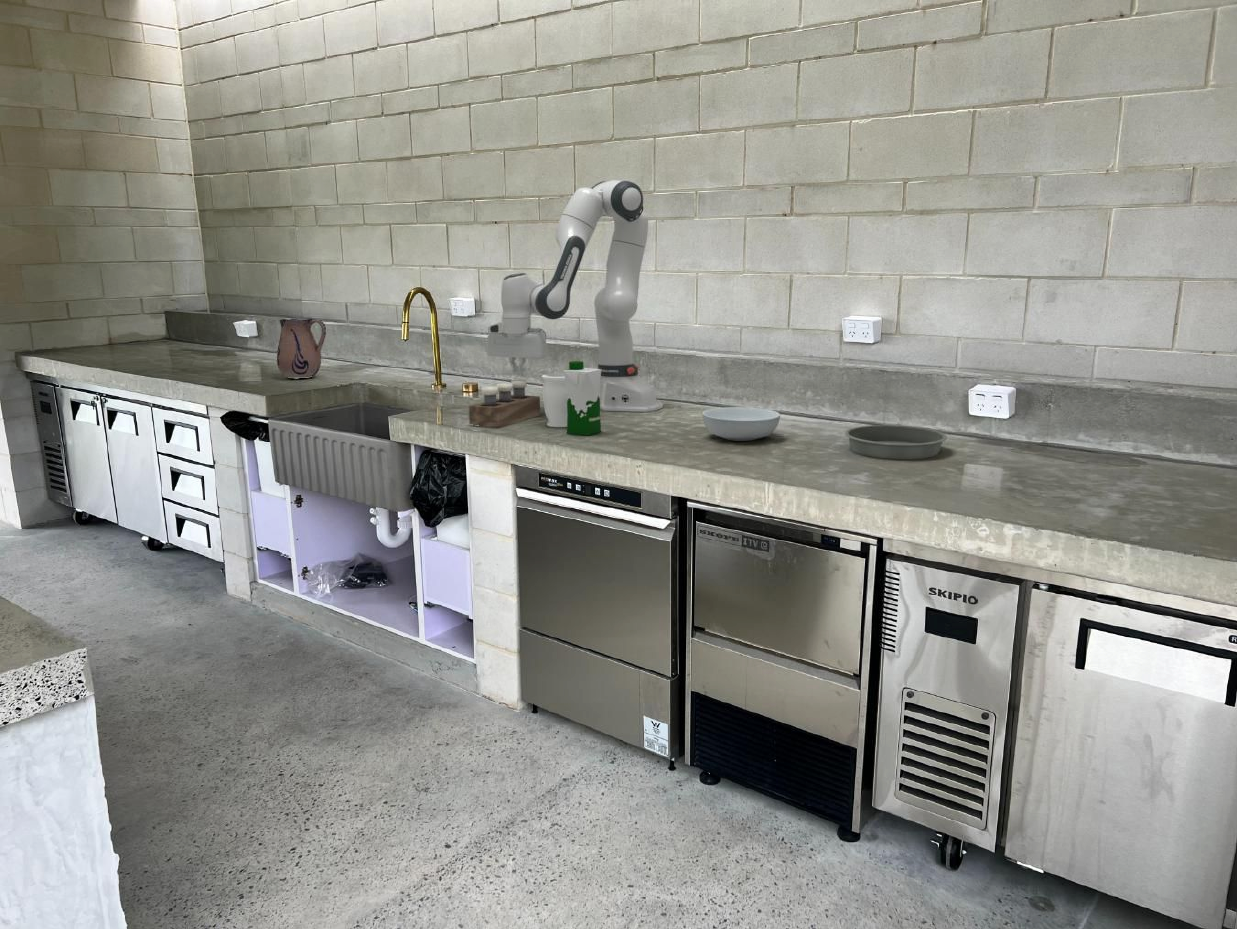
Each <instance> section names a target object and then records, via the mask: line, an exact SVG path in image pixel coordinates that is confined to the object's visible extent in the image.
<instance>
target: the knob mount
mask: <svg viewBox="0 0 1237 929" xmlns="http://www.w3.org/2000/svg"><path fill="white" fill-rule="evenodd" d="M540 397H541V396H539V395H525V398H524V399H514V397H513V394H511V402H509V403H504V402H499V397H498V398H496V401H497V406H494V407H490V406H484V401H483V402H479V403H475V404H471V405H469V406H468V416H469V425H470V424H473V425H479V426H485V427H484V428H490V427H492V428H493V429H499V428H502V427H506V426H510V425H513V424H515V423H519V422H523V421H527V420H530V419H533V418H535V417H540V416H541V402H540V401H541V399H540Z"/></svg>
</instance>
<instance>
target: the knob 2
mask: <svg viewBox="0 0 1237 929" xmlns="http://www.w3.org/2000/svg"><path fill="white" fill-rule="evenodd" d="M510 383H512V384H513V390H512V392H513V394H512V395H513V397H514V399H524V398H525V396H526V391H525V390H526V388H527V380H526V379H511V380H510Z"/></svg>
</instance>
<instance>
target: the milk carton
mask: <svg viewBox="0 0 1237 929" xmlns="http://www.w3.org/2000/svg"><path fill="white" fill-rule="evenodd" d="M563 373H564V375H565V380H566V385H567V427H566V435H575V436H585V437H588V436H592V435H594V434H595V435H596V434H598V433H601V432H602V423H601V409H600V376H601V369H598V368H594V367H584V361H582V360H581V361H580V360H579V361H578V360H574V361H573V360H572V361H569V363H568V369H565V370H563Z"/></svg>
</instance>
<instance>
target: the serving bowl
mask: <svg viewBox="0 0 1237 929" xmlns="http://www.w3.org/2000/svg"><path fill="white" fill-rule="evenodd" d="M701 414H702V420H703V423H704V426H705V428H706V429H707V430H708V431H709V432H710V433H711V434H713V435H715V436H717V437H720V438H723V439H725V440H728V441H737V442H743V441H744V442H747V441H754V440H757V439H761V438H764V437H768V436H769V435H771V434H772V433H773V432H774V431H775V430H776V429H777V427H778V426H779V422H780V418H781V414H780V412H777V411H775V410H772V409H766V408H760V407H759V408H758V407H746V406H745V407H744V406H736V407H735V406H734V407H733V406H731V407H730V406H729V407H716V408H712V409H711V408H710V409H706V410H704V411H703V412H702V413H701Z"/></svg>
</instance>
